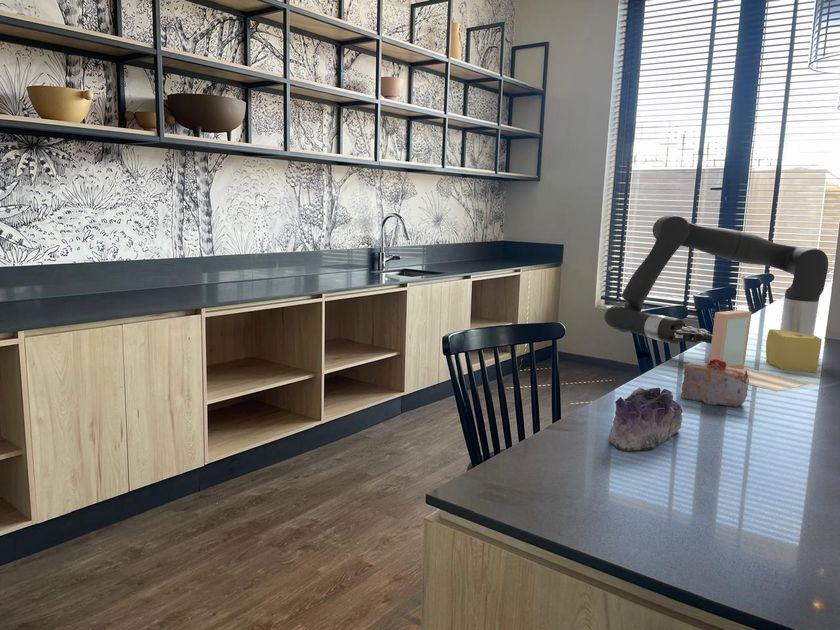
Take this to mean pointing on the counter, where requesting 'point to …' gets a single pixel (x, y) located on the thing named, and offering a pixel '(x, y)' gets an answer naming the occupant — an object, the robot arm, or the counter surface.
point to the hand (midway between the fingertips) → (718, 340)
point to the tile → (730, 337)
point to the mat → (771, 381)
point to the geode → (645, 420)
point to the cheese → (793, 350)
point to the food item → (715, 383)
